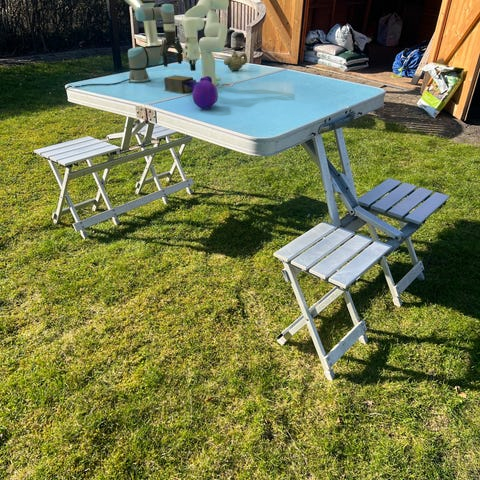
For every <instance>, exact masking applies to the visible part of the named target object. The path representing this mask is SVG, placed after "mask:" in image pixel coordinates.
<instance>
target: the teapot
mask: <svg viewBox="0 0 480 480" xmlns="http://www.w3.org/2000/svg"><path fill="white" fill-rule="evenodd" d="M242 58H243V60H242ZM247 63H248V56H247V53H246V52H242V53H240V54H238V53H237V52H236V50H233V53H232V54H231V57H226V58H225V59H224V60H223V64H224V65H225V66H227V67H228V69H229V71H231V72H237V71H240V69H242V68H243V66H244V65H246V64H247Z"/></svg>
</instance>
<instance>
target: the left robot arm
mask: <svg viewBox="0 0 480 480" xmlns="http://www.w3.org/2000/svg"><path fill="white" fill-rule="evenodd" d="M124 2H126V4H128V5H129V6H130V7H131V9H132V10H133V11H134V16H135V20H136V21H137V22H143V28H144V34H145V42H146V43H145V45H144V47H143V46H136V47H132V48H130V49H127V58H128V66H129V76H128V78H127V79H124V80H121V81H118V82H114V83H87V84H80V85H81V86H80V85H74V86H75V87H74V88H81V87H86V86H112V85H113V86H115V85H118V84H122V83H125V82H127V81H128V82H129V83H133V84H141V83H148V82H150V76H149V74H148V71H147V67H146V66H155V65H163V67H164V68H165V67H166V68H168V57H167V54H168V52H169V50H170V47H174V49H175V51H176V52H177V53H176V55H177V56H176V57H177V64H179V65H181V64H182V54H183V53H184V48H183V47H182V44H181V42H180V38H179V37H177V31H176V18H175V9H174V8H175V7H174V4H172V3H164V4H161V6H157V7H155V5H156V2H157V0H124ZM156 21H162V23H163V25H162V26H163V31H164V32H163V35H164V38H165V39H162V40H161V43H160V42H159V38H158V30H157V23H156ZM72 86H73V85H67V86H66V88H65V90H67V89H69V88H73V87H72Z"/></svg>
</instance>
